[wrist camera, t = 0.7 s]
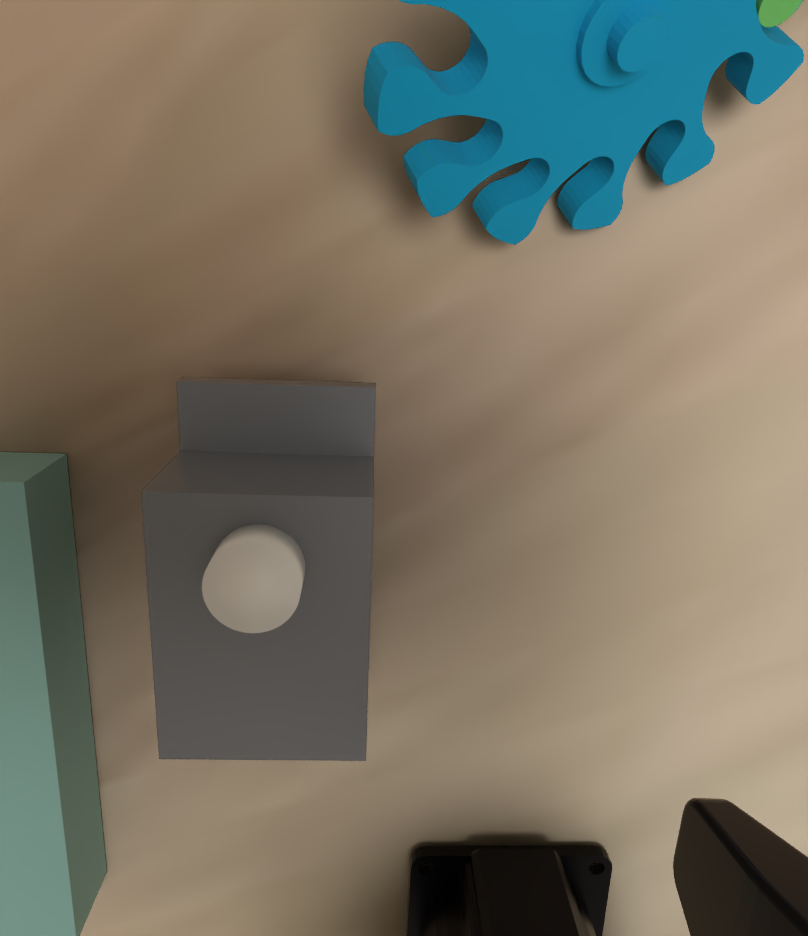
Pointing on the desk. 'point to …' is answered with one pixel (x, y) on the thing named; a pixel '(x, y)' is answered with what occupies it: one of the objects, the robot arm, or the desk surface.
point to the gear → (573, 98)
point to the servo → (263, 571)
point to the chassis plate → (44, 710)
